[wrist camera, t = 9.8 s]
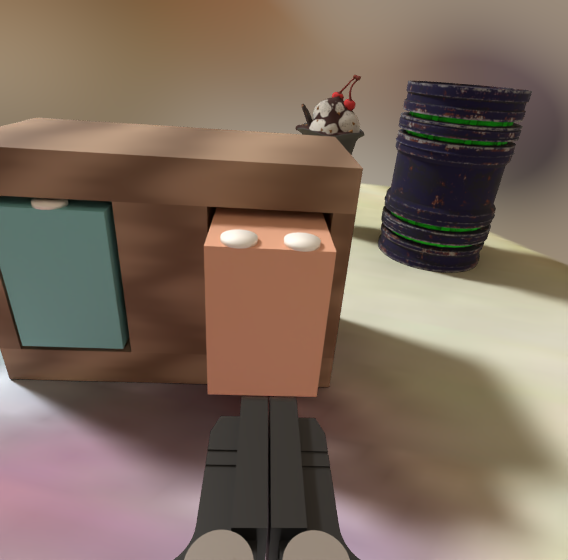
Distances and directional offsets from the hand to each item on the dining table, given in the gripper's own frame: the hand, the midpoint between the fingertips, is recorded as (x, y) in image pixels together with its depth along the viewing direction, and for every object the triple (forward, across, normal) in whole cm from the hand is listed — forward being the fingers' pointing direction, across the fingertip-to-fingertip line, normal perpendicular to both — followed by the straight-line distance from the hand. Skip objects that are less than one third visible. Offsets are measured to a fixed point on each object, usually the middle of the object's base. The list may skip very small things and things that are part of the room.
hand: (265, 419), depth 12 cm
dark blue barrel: (+29, -16, +7) cm, 34 cm away
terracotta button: (+9, 0, +5) cm, 10 cm away
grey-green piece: (+12, +10, +5) cm, 16 cm away
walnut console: (+13, +5, +7) cm, 15 cm away
